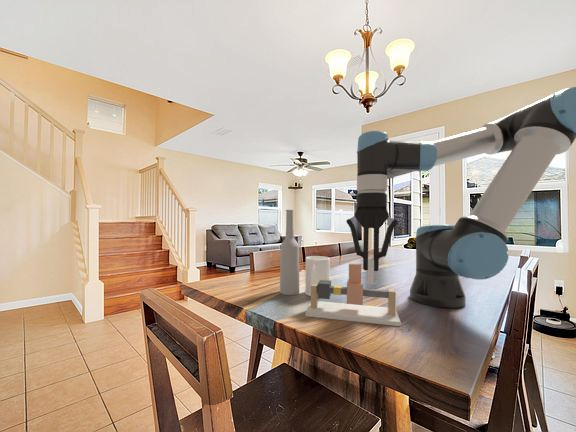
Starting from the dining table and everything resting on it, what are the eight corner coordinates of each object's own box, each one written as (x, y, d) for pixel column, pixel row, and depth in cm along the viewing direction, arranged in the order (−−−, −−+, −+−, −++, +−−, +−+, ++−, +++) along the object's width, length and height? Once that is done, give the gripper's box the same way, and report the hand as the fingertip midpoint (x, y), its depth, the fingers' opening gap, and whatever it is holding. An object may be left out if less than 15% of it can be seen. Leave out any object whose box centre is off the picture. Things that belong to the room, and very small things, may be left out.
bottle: (275, 292, 92) (276, 209, 92) (290, 288, 96) (290, 210, 96) (289, 296, 87) (289, 209, 87) (303, 292, 91) (303, 209, 91)
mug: (323, 301, 82) (323, 262, 82) (297, 298, 85) (297, 260, 85) (333, 291, 93) (333, 256, 93) (309, 288, 96) (310, 255, 96)
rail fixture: (395, 311, 74) (395, 282, 74) (400, 326, 64) (400, 292, 64) (312, 303, 80) (312, 276, 80) (305, 316, 70) (305, 285, 70)
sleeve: (362, 299, 74) (362, 262, 74) (362, 305, 69) (362, 265, 69) (347, 297, 75) (347, 261, 75) (346, 303, 70) (346, 265, 70)
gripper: (396, 193, 72) (395, 281, 72) (346, 194, 76) (345, 278, 76) (400, 191, 65) (399, 289, 65) (345, 191, 68) (344, 284, 69)
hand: (370, 283), depth 70 cm, fingers closed
